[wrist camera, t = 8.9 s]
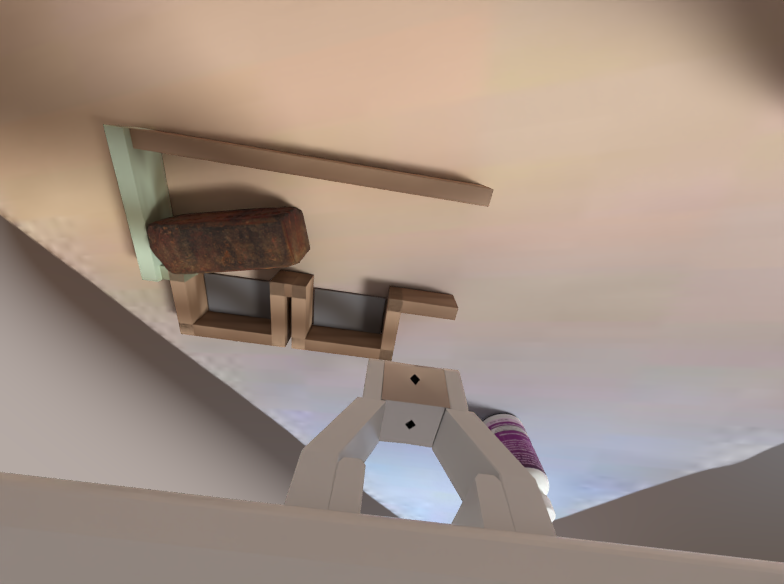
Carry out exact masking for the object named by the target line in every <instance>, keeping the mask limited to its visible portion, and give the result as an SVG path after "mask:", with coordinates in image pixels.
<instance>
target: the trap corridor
mask: <svg viewBox="0 0 784 584" xmlns="http://www.w3.org/2000/svg"><path fill="white" fill-rule="evenodd" d="M103 127H104V130H105V134H106V138H107V142H108V146H109V150H110V154H111V158H112V162H113V166H114V170H115V174H116V178H117V182H118V185H119V189H120V193H121V197H122V201H123V205H124V209H125V213H126V217H127V221H128V225H129V229H130V233H131V237H132V240H133V244H134V248H135V252H136V256H137V260H138V264H139V268H140V272H141V276H142V280H149V281H156V282H158V281H160V280H162V279H164V280H170V284H171V288H172V293H173V298H174V303H175V308H176V312H177V317H178V322H179V327H180V332H181V334H186V335H194V336H202V337H210V338H217V339H225V340H233V341H241V342H248V343H256V344H264V345H271V346H279V347H286V345H287V343H288V341H289V339H290V338H291V336H292V348H295V349H302V350H310V351H318V352H326V353H333V354H341V355H349V356H356V357H364V358H372V359H380V360H387V361H391V360H392V355H393V350H394V345H395V340H396V335H397V330H398V325H399V319H400V314H401V313H407V314H415V315H422V316H429V317H436V318H443V319H450V320H455V318H456V314H457V311H458V306H457V304H456V301H455V299H454V296H453V295H449V294H442V293H435V292H428V291H421V290H414V289H407V288H400V287H393V286H390V287H389V293H388V299H387V305H386V311H385V317H384V323H383V329H382V334H380V330H381V324H382V317H383V311H384V305H385V299H386V298H382V297H375V296H368V295H361V294H354V293H347V292H340V291H333V290H326V289H319V288H315V300H314V325H312V310H313V282H314V275H311V274H304V273H297V272H290V271H283V270H280V271H279V272H278V273H277V274H276V275H275V276H274V277H273V278H272V280H271V281H263V280H256V279H249V278H242V277H235V276H228V275H221V274H214V273H204V275H203V273H199V274H173V273H171V272H170V271H168V270H167V269H166V268H165V266H164V265H163V264H162V263H161V262H160V260H159V259H158V258H157V257H156V256H155V255H154V254H153V252H152V250H151V248H150V244H149V241H150V240H149V236H148V235H147V228H148V224H150V223H153V222H155V221H158V220H161V219H165V218H169V217H173V214H172V209H171V203H170V198H169V192H168V187H167V181H166V176H165V170H164V165H163V159H162V154H161V153H165V154H171V155H177V156H183V157H189V158H195V159H201V160H207V161H214V162H220V163H226V164H232V165H238V166H244V167H250V168H256V169H262V170H268V171H274V172H280V173H286V174H293V175H299V176H305V177H311V178H317V179H323V180H329V181H335V182H341V183H347V184H353V185H359V186H365V187H372V188H378V189H384V190H390V191H396V192H402V193H408V194H414V195H420V196H426V197H432V198H438V199H444V200H451V201H457V202H463V203H469V204H475V205H481V206H487V207H488V206H489V203H490V200H491V196H492V193H493V189H491V188H489V187H486V186H483V185H478V184H472V183H466V182H460V181H454V180H448V179H442V178H436V177H430V176H424V175H418V174H412V173H406V172H400V171H395V170H389V169H383V168H377V167H371V166H365V165H359V164H353V163H347V162H341V161H335V160H329V159H323V158H318V157H312V156H306V155H300V154H294V153H288V152H282V151H276V150H270V149H264V148H258V147H252V146H246V145H241V144H235V143H229V142H223V141H217V140H211V139H205V138H199V137H193V136H187V135H181V134H175V133H169V132H164V131H158V130H152V129H146V128H139V127H128V126H116V125H104V124H103ZM204 277H205V282H204ZM205 284H206V289H205ZM206 291H207V295H206ZM207 297H208V302H207ZM208 304H209V309H208Z"/></svg>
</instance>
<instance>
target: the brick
mask: <svg viewBox="0 0 784 584" xmlns="http://www.w3.org/2000/svg"><path fill="white" fill-rule="evenodd" d="M147 235H148V236H149V240H150V241H149V244H150V248H151V250H152V252H153V254H154V255H155V256H156V257H157V258H158V259H159V260H160V262H161V263H162V264H163V265H164V266H165V268H166V269H167V270H168V271H170V272H171V273H173V274H199V273H214V272H228V271H242V270H253V269H255V270H256V269H271V268H280V267H289V266H291V265H294V264H298V263H300V261H301V259H303V257H304V256H305V254H306V253H307V252H308V251H309V250H310V245H309V240H308V235H307V231H306V226H305V221H304V216H303V213H302V211H301V210H298V209H296V208H294V207H280V208H258V209H243V210H232V211H219V212H205V213H194V214H183V215H179V216H175V217H169V218H165V219H161V220H158V221H155V222H153V223H150V224H148V228H147Z"/></svg>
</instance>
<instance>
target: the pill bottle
mask: <svg viewBox="0 0 784 584" xmlns="http://www.w3.org/2000/svg"><path fill="white" fill-rule="evenodd" d="M483 423H484V424H485V425H486V426H487V427H488V428H489V429H490V430H491V432H492V433H493V434H494V435H495V436H496V437H497V438H498V439H499V440H500V441H501V442H502V443H503V445H504V446H505V447H506V448H507V449H508V450H509V451H510V452H511V453H512V454H513V455H514V457H515V458H516V459H517V460H518V461H519V462H520V463H521V464H522V465H523V466H524V467H525V468H526V470H527V471H528V472H529V473H530V474H531V475H532V476H533V477H534V478H535V479H536V482H537V484H538V487H539V490H540V492H541V495H542V498H543V500H544V503H545V506H546V508H547V511H548V514H549V516H550V519H551V522H553V521H554V519H555V512H554V509H553V507H552V504H551V502H550V500H549V498H548V497H547V496H546V495H547V493H548V491H549V481H548V478H547V476H546V474H545V472H544V470H543V468H542V465H541V463H540V461H539V459H538V457H537V455H536V452H535V450H534V448H533V446H532V444H531V441H530V439H529V437H528V435H527V433H526V431H525V428H524V426H523V424H522V422H521V421H520V420H519V419H518V418H517V417H515V416H513V415H509V414H497V415H493V416H491V417H489V418H487V419H485V420H484V421H483Z"/></svg>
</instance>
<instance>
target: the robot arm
mask: <svg viewBox="0 0 784 584" xmlns="http://www.w3.org/2000/svg"><path fill="white" fill-rule="evenodd" d="M379 441H385V442H396V443H406V444H412V445H419V446H425V447H432V450H433V452H434V453H435V455H436V457H437V458H438V460H439V462H440V464H441V465H442V467H443V469H444V470H445V472H446V474H447V476H448V477H449V479H450V481H451V482H452V484H453V486H454V488H455V489H456V491H457V493H458V494H459V496H460V498H461V500H462V501H463V502H462V504H461V506H460V508H459V510H458V512H457V514H456V516H455V518H454V520H453V522H452V524H445V523H437V522H428V521H419V520H411V519H402V518H393V517H384V516H375V515H367V514H360V511H361V501H362V492H363V483H364V474H365V464H364V462H365V461H366V459H367V458H368V456H369V455H370V454H371V452H372V451H373V449H374V448H375V447H376V445H377V444H378V442H379ZM0 584H784V563H782V562H773V561H764V560H756V559H747V558H739V557H730V556H720V555H712V554H704V553H695V552H687V551H678V550H669V549H660V548H652V547H643V546H635V545H626V544H617V543H609V542H599V541H591V540H583V539H574V538H565V537H557V535H556V532H555V530H554V527H553V524H552V522H551V519H550V516H549V514H548V511H547V508H546V506H545V503H544V500H543V498H542V495H541V492H540V490H539V487H538V484H537V482H536V479H535V478H534V477H533V476H532V475H531V474H530V473H529V472H528V471H527V470H526V468H525V467H524V466H523V465H522V464H521V463H520V462H519V461H518V460H517V459H516V458H515V457H514V455H513V454H512V453H511V452H510V451H509V450H508V449H507V448H506V447H505V446H504V445H503V443H502V442H501V441H500V440H499V439H498V438H497V437H496V436H495V435H494V434H493V433H492V432H491V430H490V429H489V428H488V427H487V426H486V425H485V424H484V423H483V422H482V421H481V420H480V419H479V417H478V416H477V415H476V414H475V413H474V412H470V411H469V410H468V405H467V401H466V397H465V393H464V389H463V384H462V380H461V376H460V372H459V371H458V370H452V369H444V368H443V369H442V368H434V367H426V366H419V365H411V364H404V363H398V362H392V361H386V360H385V361H383V360H377V359H371V358H369V361H368V366H367V373H366V379H365V385H364V391H363V398H362V397H357V398H356V399H355V400H354V401H353V402H352V403H351V404H350V405H349V406H348V407H347V408H346V409H345V410H344V411H343V412H342V413H340V414H339V415H338V416H337V417H336V418H335V419H334V420H333V421H332V422H331V423H330V424H329V425H328V426H327V427H326V428H325V429H324V430H323V431H321V432H320V433H319V434H318V435H317V436H316V437H315V438H314V439H313V440H312V441H311V442H310V443H309V444H308V445H307V446H306V447H305V448H304V449H302V451H301V454H300V457H299V461H298V463H297V466H296V469H295V473H294V476H293V479H292V481H291V485H290V488H289V491H288V494H287V497H286V500H285V503H284V505H281V504H271V503H263V502H254V501H246V500H237V499H228V498H220V497H211V496H202V495H194V494H185V493H177V492H167V491H159V490H151V489H142V488H133V487H125V486H116V485H107V484H98V483H90V482H81V481H73V480H65V479H56V478H47V477H39V476H30V475H22V474H13V473H5V472H0Z"/></svg>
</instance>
